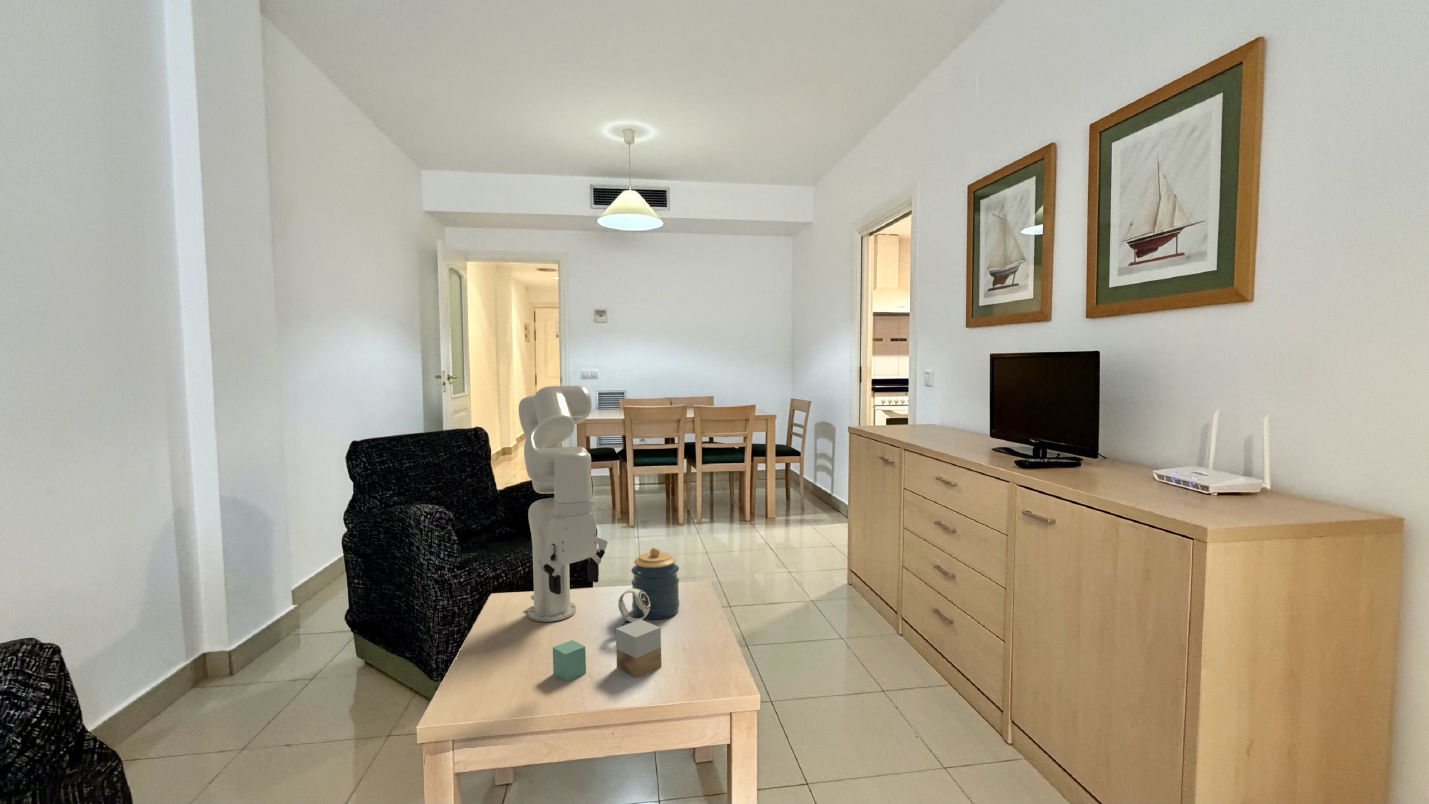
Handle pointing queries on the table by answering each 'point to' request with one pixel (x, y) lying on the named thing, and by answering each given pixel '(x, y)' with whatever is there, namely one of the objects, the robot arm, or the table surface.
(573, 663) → the stack block
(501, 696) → the table surface
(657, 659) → the base block
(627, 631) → the top block
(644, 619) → the watch
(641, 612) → the canister
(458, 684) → the table surface
